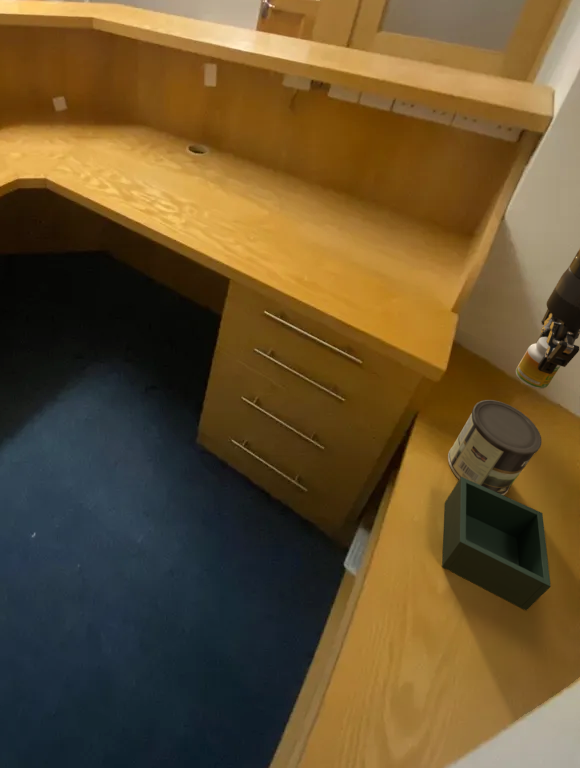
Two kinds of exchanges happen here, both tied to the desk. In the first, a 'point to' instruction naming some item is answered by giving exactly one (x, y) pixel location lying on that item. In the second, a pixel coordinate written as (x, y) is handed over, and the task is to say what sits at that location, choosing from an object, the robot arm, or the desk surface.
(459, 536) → the bin
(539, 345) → the supplement bottle
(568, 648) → the desk surface
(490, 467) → the coffee can
